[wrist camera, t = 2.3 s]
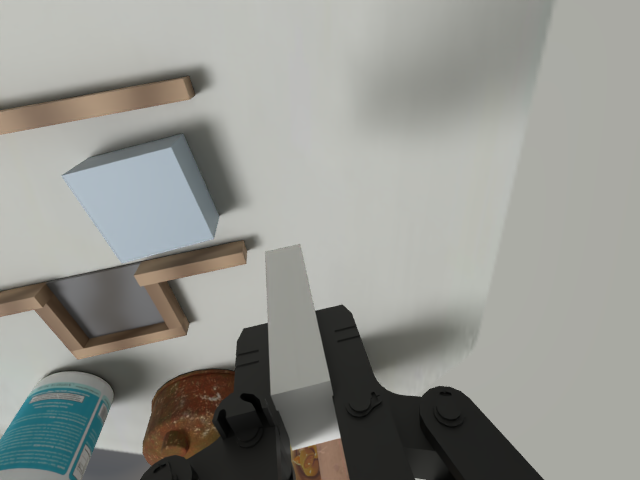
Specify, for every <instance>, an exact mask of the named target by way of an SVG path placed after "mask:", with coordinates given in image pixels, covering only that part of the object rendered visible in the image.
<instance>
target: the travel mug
mask: <svg viewBox="0 0 640 480" xmlns="http://www.w3.org/2000/svg"><path fill="white" fill-rule="evenodd" d="M316 447H317V454H318V461H319V468H320V474H321V480H350V479H349V474H348V470H347V465H346V460H345V455H344V451H343V446H342V441H341V438H339V439H335V440H331V441H327V442H323V443H319V444H316Z"/></svg>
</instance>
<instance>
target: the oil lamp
mask: <svg viewBox="0 0 640 480" xmlns="http://www.w3.org/2000/svg"><path fill="white" fill-rule="evenodd" d="M234 378H235V371H231V370H222V369H207V370H199V371H193V372H190V373H186V374H183V375H180V376H178V377H176V378H174V379H172V380H170V381H169V382H167V383H166V384H165V385H164V386H162V387H161V388H160V389H159V390H158V391H157V393H156V395H155V396H154V398H153V400H152V413H151V417H150V420H149V423H148V427H147V430H146V434H145V437H144V440H143V455H144V457H145V458H146V460H147V462H148V463H149V464H150V465H151V466H152V465H153V464H154V463H156V462H158V461H159V460H161V459H163V458H164V457H168V456H173V455H178V456H181V457H184V458H185V459H188V458H190V457H191V456H193V455H195V454H196V453H198V452H200V451H201V450H203V449H205V448H206V447H208V446H209V445H211V444H212V443H213V442H215V441H216V440H217V439H218V438H219V437H220V434H219V433H218V431H217V429H216V428H215V426H214V424H213V423H212V419H213V416H214V412H215V410H216V409H217V407H218V406H219V404H220V403H221V401H222V400H223V399H225V398H226V397H227V396H228V395H230V394H231V393H233V392H234Z"/></svg>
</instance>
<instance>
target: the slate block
mask: <svg viewBox="0 0 640 480" xmlns="http://www.w3.org/2000/svg"><path fill="white" fill-rule="evenodd" d="M62 178H63V179H64V180H65V182H66V183H67V185H68V186H69V188H70V189H71V191H72V192H73V194H74V195H75V196H76V198H77V199H78V201H79V202H80V204H81V205H82V207H83V208H84V210H85V211H86V212H87V214H88V215H89V217H90V218H91V220H92V221H93V223H94V224H95V226H96V227H97V228H98V230H99V231H100V233H101V234H102V236H103V237H104V239H105V240H106V242H107V243H108V244H109V246H110V247H111V249H112V250H113V252H114V253H115V255H116V256H117V258H118V259H119V260H120V262H121V263H126V262H129V261H133V260H137V259H141V258H144V257H148V256H152V255H156V254H159V253H163V252H167V251H171V250H174V249H178V248H182V247H186V246H189V245H193V244H197V243H201V242H204V241H208V240H212V239H214V236H215V232H216V228H217V224H218V219H219V214H218V212H217V210H216V208H215V205H214V203H213V201H212V198H211V196H210V194H209V192H208V189H207V187H206V185H205V182H204V180H203V178H202V175H201V173H200V171H199V169H198V166H197V164H196V162H195V159H194V157H193V155H192V153H191V150H190V148H189V146H188V143H187V141H186V139H185V137H184V134H179V135H175V136H171V137H167V138H163V139H159V140H156V141H152V142H148V143H144V144H140V145H136V146H132V147H128V148H125V149H121V150H117V151H113V152H109V153H105V154H101V155H97V156H94V157H90V158H87V159H86V160H84V161H83V162H81V163H80V164H78V165H77V166H75V167H74V168H72V169H71V170H69V171H68V172H66V173H65V174H63V175H62Z"/></svg>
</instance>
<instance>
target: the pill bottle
mask: <svg viewBox="0 0 640 480" xmlns="http://www.w3.org/2000/svg"><path fill="white" fill-rule="evenodd" d="M113 397H114V394H113V390H112V388H111V387H110V385H109V384H108V383H107V382H106V381H104V380H103V379H101V378H99V377H97V376H95V375H92V374H89V373H84V372H76V371H67V372H60V373H55V374H52V375H49V376H47V377H45V378H43V379H42V380H41V381H39V382H38V383H37V384H36V386H35V387H34V388H33V390H32V391H31V393H30V394H29V396H28V397H27V399H26V400H25V402H24V404H23V405H22V407H21V408H20V410H19V411H18V413H17V414H16V416H15V418H14V419H13V421H12V422H11V424H10V425H9V427H8V428H7V430H6V432H5V433H4V435H3V436H2V438H1V439H0V480H82V477H83V475H84V472H85V470H86V467H87V464H88V462H89V460H90V457H91V455H92V452H93V450H94V447H95V445H96V442H97V440H98V437H99V435H100V432H101V430H102V427H103V425H104V422H105V420H106V417H107V415H108V412H109V410H110V407H111V405H112V402H113Z"/></svg>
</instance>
